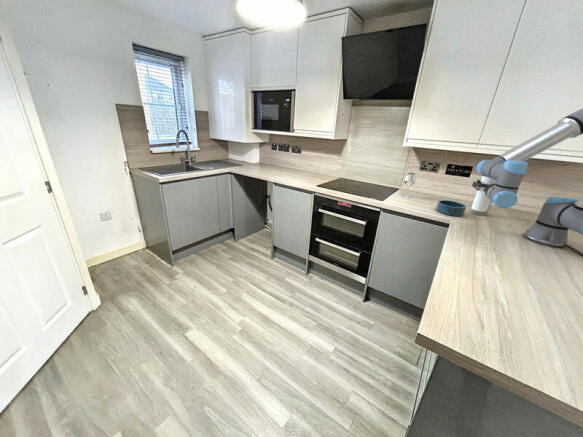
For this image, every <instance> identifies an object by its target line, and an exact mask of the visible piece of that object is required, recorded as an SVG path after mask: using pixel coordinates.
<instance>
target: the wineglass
mask: <svg viewBox="0 0 583 437" xmlns="http://www.w3.org/2000/svg"><path fill="white" fill-rule="evenodd" d="M416 181H417V175H416V173H413V172H407V173H406V175H405V177H404V180H403V182H404V184H405V186H406V187H407V188H406V193H405V194H401V197H404V198H411V195H409V194H408V193H409V188H410V187H411V186H414V185H415V184H416V183H417V182H416Z"/></svg>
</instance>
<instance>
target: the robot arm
mask: <svg viewBox="0 0 583 437" xmlns="http://www.w3.org/2000/svg"><path fill="white" fill-rule="evenodd" d="M581 135H583V107H582V108H580V109H578V110H575V111H573V112H572V113H570V114H568V115H566V116H564V117H562V118H560V119H559V120H558V121H557V123H556V124H555V125H553V126H551V127H549V128H547V129H545V130H543V131H542V132H540V133H538V134H536V135H534V136H532V137H531V138H529V139H527V140H525V141H523V142H521V143H520V144H518V145H516V146H514V147H512V148H510V149H509V150H507V151H505V152H503V153H501V154H500V155H498V156H495V157H494V158H491V159H483V160H481V161H480V162H478V163H477V165H476V168H475V169H476V172H477V174H478V175H480V176H484V177H489V178H492V179H495V180H497V183H494V184H491V185H489V184H483V183H481V180H480V179H476V181H472V184H471V187H472V188H474V189H475V190H476V191H477V190H480V189H483V191H485V194H486V196H487V197H488V198H489V199H490V200H491V201H492V202H491V203H492V204H493V205H494V206H496V207H498V208H500V209H509V208H512V207H514V206H515V205H516V204H517V202H518V201H519V200H518V196H517V193H518V191H519V188H520V185H521V184H522V182H523V179H524V177H525V175H526V174H527V169H528V166H529V163H528V162H527V160H529V159H531V158H533V157H535V156H537V155H539V154H541V153H543V152H545V151H547V150H549V149H551V148H552V147H554V146H557V145H558V144H560V143H562V142H564V141H566V140H568V139H574V138H577V137H579V136H581ZM569 230H571V231H573V232H576V233H578V234H580V235H581V236H583V195H581V199H580V198H574V197H565V196H549V197H547V198H546V200H545V202H544V203H543V205H542V207H541V210H540V212H539V214H538V216H537V218H536V220H535V223H534V224H532V225H531V226H530V227H529V228H528V229H527V230H526V231H525V233H524V237H525V238H526V239H528V240H530V241H531V242H534V243H537V244H540V245H544V246H547V247H553V248H565V247H566V248H567V249H570V250H571V251H573V252H574V253H577V254H579V255H581V256H582V257H583V252H581V251H579V250H578V249H576V248H574V247H572V246H570V245H568V237H569Z"/></svg>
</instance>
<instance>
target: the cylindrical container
mask: <svg viewBox="0 0 583 437" xmlns="http://www.w3.org/2000/svg"><path fill="white" fill-rule="evenodd" d="M481 176H482V175H481ZM480 181H481V183H483V184H489V185H491V184H494V183H497V180H495V179H492V178H489V177H484V176H482V177H481V180H480ZM476 191H477V192H476V194H475V196H474V199H473V202H472V205H471V209H472V210H476V211H481V212H487V210H488V208H489V205H490V202H491V200H490V199H489V198H488V197H487V196H486V194H485V191H483V189H480V190H476ZM491 203H492V202H491ZM490 206H491V205H490ZM489 209H490V208H489ZM488 211H489V210H488Z"/></svg>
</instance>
